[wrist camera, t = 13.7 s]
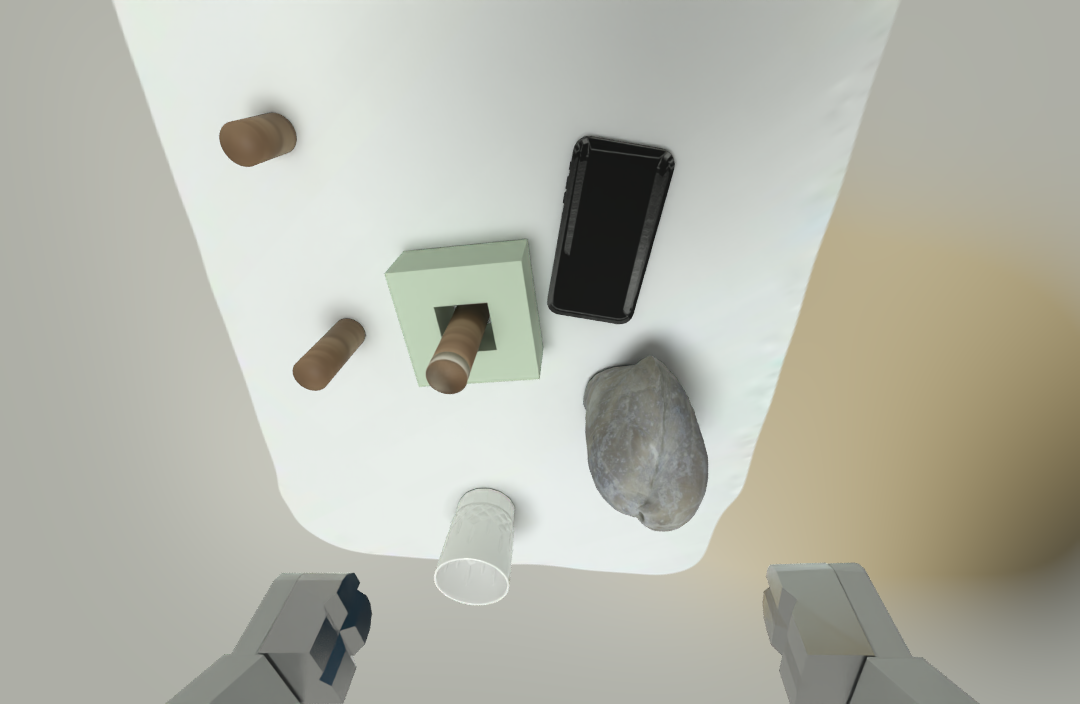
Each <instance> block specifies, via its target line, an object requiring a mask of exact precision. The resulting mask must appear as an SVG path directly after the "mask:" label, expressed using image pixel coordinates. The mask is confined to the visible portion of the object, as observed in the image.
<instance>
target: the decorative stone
mask: <svg viewBox="0 0 1080 704" xmlns="http://www.w3.org/2000/svg"><path fill="white" fill-rule="evenodd" d="M583 405H584V407H585V409H586V418H585V420H586V426H585V430H586V431H585V434H586V442H587V452H588V464H589V469H590V472H591V475H592V478H593V480H594V483H595V486H596V488H597V490H598V491H599V493H600V494H601V495H602V497H603V498H604V499H605V500H606V501H607V502H608V503H609V504H610V505H611V506H612V507H613V508H614V509H615V510H617V511H619V512H621V513H623V514H626V515H630V516H632V517H637V518H638V520H639V521H640V522H641V523H642V524H643V525H644V526H646V527H648V528H650V529H651V530H654V531H672V530H675V529H678V528H680V527H681V526H683V525H684V524H685V523H687V522H688V521H689V520H690V519H691V518H692V517H693V516H694V515H695V513H696V511H697V510H698V508H699V506H700V504H701V501H702V499H703V497H704V495H705V492H706V487H707V481H708V456H707V452H706V448H705V444H704V440H703V437H702V434H701V431H700V428H699V425H698V422H697V419H696V416H695V412H694V409H693V407H692V406H691V404H690V401H689V398H688V396H687V395H686V393H685V391H684V390H683V388H682V386H681V385H680V383H679V382H678V380H677V378H676V377H675V376H674V375H673V374H672V373H671V372H670V371H669V370H668V369H667V367H666V366H665V364H664V363H662V362H661V361H659V360H658V359H656V358H655V357H654V356H653V355H651V356H648V357H646V358H644V359H642V360H640V361H639V362H638V363H637V364H636V365H629V366H621V367H613V368H610V369H607V370H604V371H602V372H600V373H598V374H596V375H595V376H594V377H593V378H592V379H591V380H590V381H589V382H588V385H587V387H586V391H585V395H584V401H583Z"/></svg>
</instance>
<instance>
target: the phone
mask: <svg viewBox="0 0 1080 704" xmlns="http://www.w3.org/2000/svg"><path fill="white" fill-rule="evenodd" d="M674 165H675V163H674V159H673V157H672V155H671V154H670V153H669V152H668V151H667V150H665V149H662V148H656V147H650V146H644V145H639V144H633V143H627V142H621V141H615V140H610V139H604V138H598V137H592V136H586V137H583V138H581V139H580V140H579V141H578V142H577V143H576V145H575V147H574V150H573V156H572V162H570V167H569V170H570V173H569V176H568V178H567V184H566V189H567V190H566V192H565V194H564V200H563V203H564V208H563V213H562V219H561V225H560V230H559V236H558V242H557V248H556V253H555V259H554V265H553V271H552V276H551V282H550V288H549V294H548V300H547V305H548V307H549V309H550V310H551V311H552V312H553V313H556V314H560V315H566V316H572V317H578V318H584V319H590V320H596V321H602V322H608V323H614V324H624V323H626V322H628V321H629V320H630V319H631V318H632V316H633V314H634V310H635V307H636V303H637V299H638V296H639V292H640V289H641V285H642V282H643V278H644V274H645V271H646V267H647V264H648V260H649V257H650V253H651V249H652V246H653V242H654V239H655V235H656V232H657V228H658V225H659V221H660V217H661V214H662V210H663V207H664V203H665V200H666V196H667V192H668V189H669V185H670V182H671V178H672V175H673V171H674Z"/></svg>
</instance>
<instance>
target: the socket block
mask: <svg viewBox="0 0 1080 704" xmlns="http://www.w3.org/2000/svg"><path fill="white" fill-rule="evenodd" d="M385 277H386V280H387V284H388V287H389V290H390V294H391V297H392V300H393V303H394V307H395V310H396V313H397V316H398V320H399V323H400V326H401V330H402V333H403V336H404V339H405V343H406V346H407V349H408V352H409V356H410V359H411V362H412V366H413V369H414V372H415V375H416V379H417V382H418V385H419V387H425V386H430V385H429V383H428V381H427V379H426V369H427V367H428V365H429V363H430V360H431V359H432V357H433V355H434V353H435V351H436V349H437V347H438V345H439V342H440V340H441V338H442V336H443V334H444V332H445V330H446V328H447V326H448V324H449V322H450V320H451V318H452V316H453V313H454V307H453V305H464V304H476V303H488V308H489V313H490V318H491V323H490V324H487V326H486V329H485V331H484V334H483V337H482V340H481V343H480V346H479V349H478V352H477V355H476V358H475V360H474V363H473V366H472V369H471V372H470V376H469V379H468V382H467V384H471V383H487V382H502V381H518V380H533V379H540V371H541V363H542V355H543V344H542V337H541V330H540V323H539V316H538V310H537V303H536V296H535V289H534V282H533V275H532V268H531V261H530V254H529V247H528V240H527V239H522V240H512V241H502V242H492V243H482V244H472V245H463V246H453V247H443V248H433V249H423V250H413V251H403V253H402V254H401V255H400V256H399V257H398V258H397V260H396V261H395V262H394V263H393V264H392V265H391V267H390V268H389V269H388V270H387V271H386V272H385Z"/></svg>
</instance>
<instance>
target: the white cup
mask: <svg viewBox="0 0 1080 704" xmlns="http://www.w3.org/2000/svg"><path fill="white" fill-rule="evenodd" d="M514 511H515V508H514V506H513V504H512V502H511V500H510V499H509V498H508V497H507V496H505V495H504V494H503V493H501V492H499V491H496V490H492V489H474V490H472V491H469V492H467V493H466V494H465V495H464V496H463V497H462V498H461V499H460V501H459V504H458V507H457V511H456V514H455V516H454V518H453V520H452V523H451V526H450V529H449V532H448V534H447V537H446V540H445V543H444V546H443V549H442V552H441V555H440V558H439V561H438V564H437V567H436V571H435V573H434V582H435V584H436V586H437V587H438V589H439V590H440V591H441V592H442V593H443V594H444V595H446V596H447V597H449V598H450V599H452V600H455V601H457V602H461V603H464V604H469V605H487V604H491V603H495V602H497V601H499V600H501V599H502V598H503V597H504V596H505V595H506V594H507V593H508V590H509V585H510V573H511V562H512V552H513V533H514V530H513V521H514Z"/></svg>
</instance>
